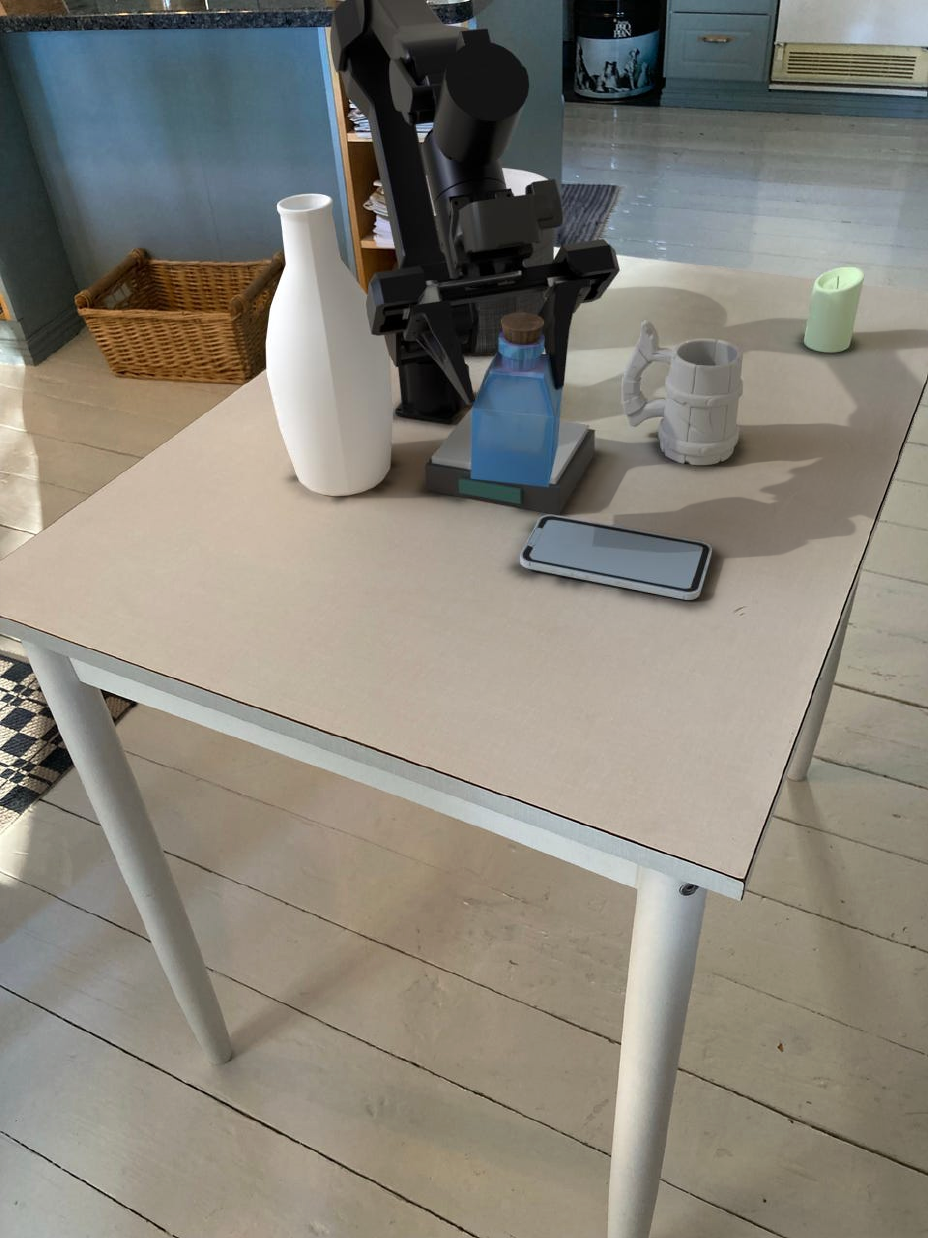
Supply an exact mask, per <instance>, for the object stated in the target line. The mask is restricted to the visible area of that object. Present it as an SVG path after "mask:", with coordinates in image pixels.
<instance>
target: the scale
mask: <svg viewBox="0 0 928 1238" xmlns="http://www.w3.org/2000/svg"><path fill="white" fill-rule="evenodd" d="M471 437H472V407H471V408H470V409H469V410H468V411H467V413H466V414H465V415H464V416H463V417H462V419H461V420H460V421H459V423H457V425H456V426H455V427H454V429H452V431H451V432H450V433H449V434H448V436H447V437H446V438H445V440H444V441H443V442H442V443H441V444H440V446H439V447H438V448H437V449H436V451H435V452H434V453H433V454H432V456H431V457H430V459H428V461H427V462H426V463H425V465H424V471H425V481H426V483H425V484H426V491H427V492H431V493H437V494H443V495H449V496H454V497H458V498H464V499H470V500H476V501H481V502H487V503H492V504H496V505H502V506H508V507H513V508H518V509H519V508H520V509H525V510H530V511H535V512H542V513H545V514H546V513H547V514H550V515H557V516H560V514H561V512H562V510H563V509H564V507H565V505H566V504H567V502H568V500H569V498H570V497H571V495H572V493H573V492H574V490H575V489H576V486H577V485H578V483H579V481H580V480H581V478H582V476H583V475H584V473H585V471H586V470H587V468H588V466H589V465H590V463H591V461H592V459H593V458H594V456H595V443H596V442H595V441H596V429H592V428H590V425H589V424H585V423H579V422H571V421H565V420H560V424H559V437H558V448H557V452H556V456H555V461H554V465H553V469H552V474H551V478H550V482H549V487H542V486H533V485H524V484H515V483H506V482H497V481H488V480H480V479H471Z"/></svg>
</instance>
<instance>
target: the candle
mask: <svg viewBox="0 0 928 1238" xmlns="http://www.w3.org/2000/svg"><path fill="white" fill-rule="evenodd" d="M864 279H865V272H864V271H863V270H862V269H861V268H859V267H855V266H842V267H837V268H833V269H830V270H827V271H825V272H823V273H822V274H820V275H819V276H818V277H817V278H816V279H815V281H814V283H813V287H812V293H811V299H810V304H809V310H808V316H807V321H806V327H805V333H804V338H803V343H804V345H805V346H806V347H807V348H809V349H810V350H812V351H816V352H819V353H826V354H834V353H839V352H840V353H841V352H843V351H846V350H847V349H848V348H849V347H850V345H851V342H852V336H853V333H854V332H853V331H854V327H855V322H856V318H857V313H858V307H859V303H860V299H861V293H862V289H863V285H864Z"/></svg>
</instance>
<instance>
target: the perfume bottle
mask: <svg viewBox="0 0 928 1238" xmlns="http://www.w3.org/2000/svg"><path fill="white" fill-rule="evenodd" d="M501 324H502V330H503V331H502V332H501V333H500V334H499V340H498V351H497V353H495V355H494V356H493V358H492V360H491V362H490V363H489V365H488V367H487V369H486V370H485V373H484V375H483V378H482V380H481V383H480V386H479V389H478V391H477V394H476V397H475V398H474V403H473V405H472V406H471V408H472V437H471V479H480V480H488V481H497V482H506V483H515V484H524V485H533V486H542V487H549V482H550V478H551V474H552V469H553V465H554V461H555V456H556V452H557V448H558V437H559V424H560V421H561V411H562V401H563V399H562V398H563V388H564V386H563V387H562V389H561V390H556V388H555V383H554V378H553V374H552V368H551V360H550V354H546V353H544V352H545V348H544V343H545V336H544V335H543V334H542V333H541V332H542V328H543V325H544V320H543V319H542V318H541V317H539V316H538V315H535V314H531V313H520V312H519V313H511V314H508V315H506V316H504V317H503V318H502V319H501Z"/></svg>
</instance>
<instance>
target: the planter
mask: <svg viewBox="0 0 928 1238" xmlns="http://www.w3.org/2000/svg"><path fill="white" fill-rule="evenodd" d="M502 170H503V174H504V179H505V183H506V187H507V189H510V188H511V190H512V193H513V194H514V196H519V195H525V188H526V186H527V185H529V184H531V183H532V182H536V181H543V180H549V179H548V178H546V177H545V176H543V175H540V174H537V173H535V172H531V171H527V170H523V169H517V168H515V169H514V168H507V167H502ZM426 177H427V175H426ZM427 182H428V178H427ZM428 187H429V182H428ZM429 192H430V197H431V202H432V207H433V211H434V216H435V221H436V226H437V231H438V232H439V227H438V222H437V218H436V214H435V209H434V205H433V200H432V196H431V191H430V187H429ZM540 234H541V242H540V243H532V246H533V250H534V251H533V253H532V255H531V257H530V258H529V259H524V265H525V267H531V266H538V265H544V264H551V263H552V262H553V260H554V258H555V253H554V252H555V228H554V229H550V230H543V231H540ZM439 241H440V240H439ZM440 245H441V244H440ZM441 249H442V251H443V252H444V249H443V246H441ZM475 304H476V306H477V307H478V308H479V309H480V316H479V323H478V336H477V347H476V350H475V354H471V355H472V356H474V355H475V356H477V355H480V356H481V355H493V354H496V353H497V351H498V340H499V334H500V333H501V332H502V331H503V330H502V324H501V319H502V318H503V317H504V316H506V315H508V314H511V313H519V312H520V313H531V314H535V315H538V314H539V312H540V310H541V309H542V307H543V305H544V303H543V298H542V294H541V292H537V293H530V294H524V295H518V296H511V297H505V298H498V299H492V300H485V301H479V302H475ZM468 355H469V356H470V354H467V356H468Z"/></svg>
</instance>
